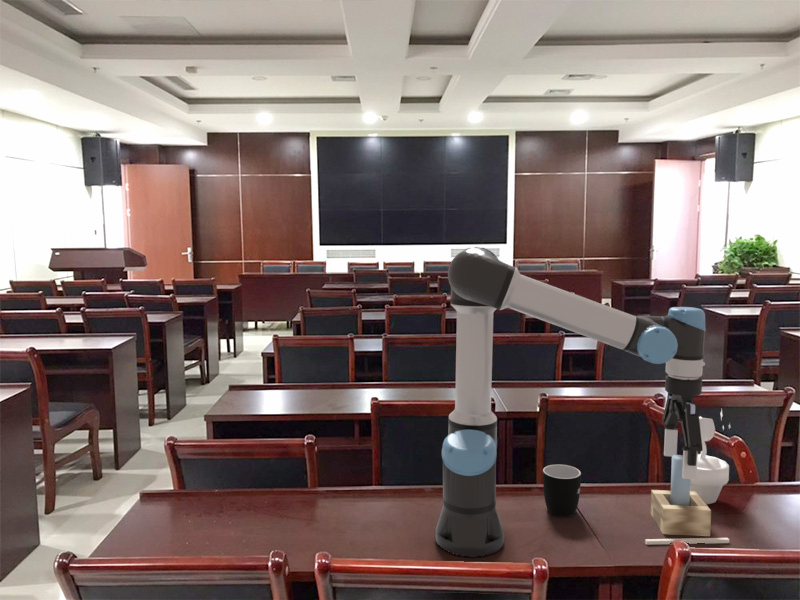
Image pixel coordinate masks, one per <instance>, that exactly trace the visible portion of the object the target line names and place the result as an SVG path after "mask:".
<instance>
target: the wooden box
mask: <svg viewBox="0 0 800 600" xmlns="http://www.w3.org/2000/svg"><path fill="white" fill-rule="evenodd" d="M650 496H651V497H650V516H651V517H652V518H653V520H654V522H655V523H656V525H657V526H658V528H659V530H660V532H661V533H662V535H675V536H696V537H711V521H712V510H711V508H709V506H708V504H705V503H704V501H703V500H702V499H701V498H700V496H699V495H698V494H697V493H696V492H694V491H690V505H689V506H683V505H670V499H671V490H663V489H651V491H650Z"/></svg>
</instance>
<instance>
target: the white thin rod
mask: <svg viewBox="0 0 800 600" xmlns="http://www.w3.org/2000/svg"><path fill="white" fill-rule="evenodd" d="M675 540H682V541H685V542H687V543H689V544H690V545H695V544H697V543H705V544H730V538H728V537H700V538H699V537H698V538H697V537H696V538H694V537H693V538H689V537H688V538H652V539H651V538H646V539H645V538H644V543H645V545H650V546H651V545H671V544H670V543H671V542H673V541H675ZM689 544H688V545H689Z"/></svg>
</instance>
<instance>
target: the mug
mask: <svg viewBox="0 0 800 600" xmlns="http://www.w3.org/2000/svg"><path fill="white" fill-rule="evenodd" d="M581 480H582V472H581V471H580V470H579V469H578V468H576V467H574V466H571V465H568V464H550V465H546V466H545V467H544V468H543V469H542V486H543V496H544V503H545V506H546V509H547V511H548V512H549V513H550V514H551V515H554V516H556V517H562V518H565V517H572V516H573V515H574V514H575V513H576V512H577V509H578V507H579V502H580V501H579V500H580V494H581V487H582V486H581V485H582V483H581V482H582V481H581Z"/></svg>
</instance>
